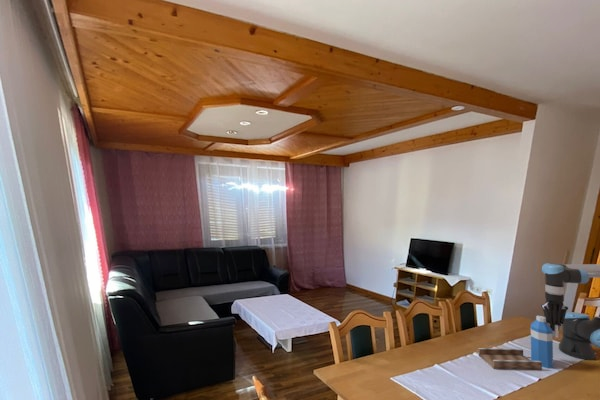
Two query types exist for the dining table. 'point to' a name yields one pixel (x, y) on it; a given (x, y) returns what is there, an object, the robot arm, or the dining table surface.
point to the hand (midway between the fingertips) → (554, 336)
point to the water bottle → (542, 342)
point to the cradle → (508, 359)
